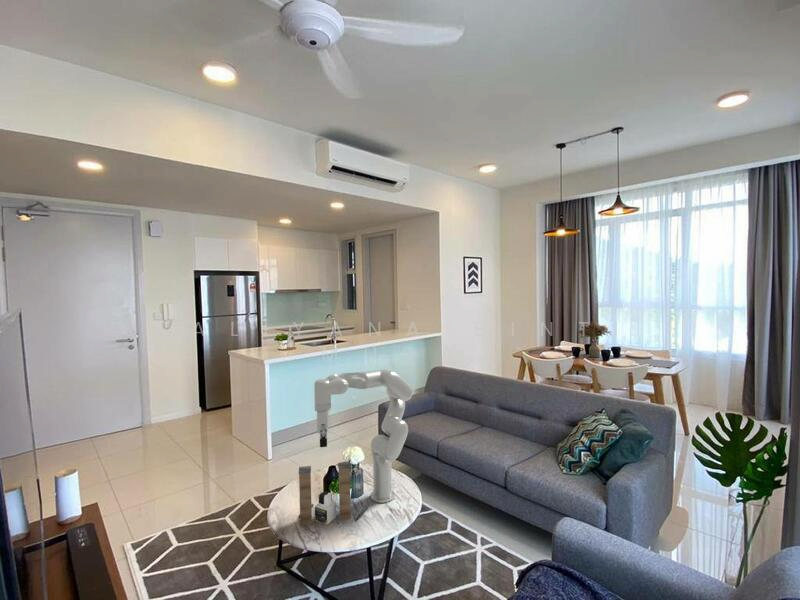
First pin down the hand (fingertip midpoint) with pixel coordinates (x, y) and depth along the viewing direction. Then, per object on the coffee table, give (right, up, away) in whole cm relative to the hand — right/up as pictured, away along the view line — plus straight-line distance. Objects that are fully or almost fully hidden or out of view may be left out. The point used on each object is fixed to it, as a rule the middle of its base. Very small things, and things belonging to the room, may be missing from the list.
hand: (323, 442), depth 178 cm
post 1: (-8, -37, -1) cm, 37 cm away
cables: (+4, -36, +6) cm, 37 cm away
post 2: (+10, -36, +3) cm, 38 cm away
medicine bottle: (+1, -37, +1) cm, 37 cm away
